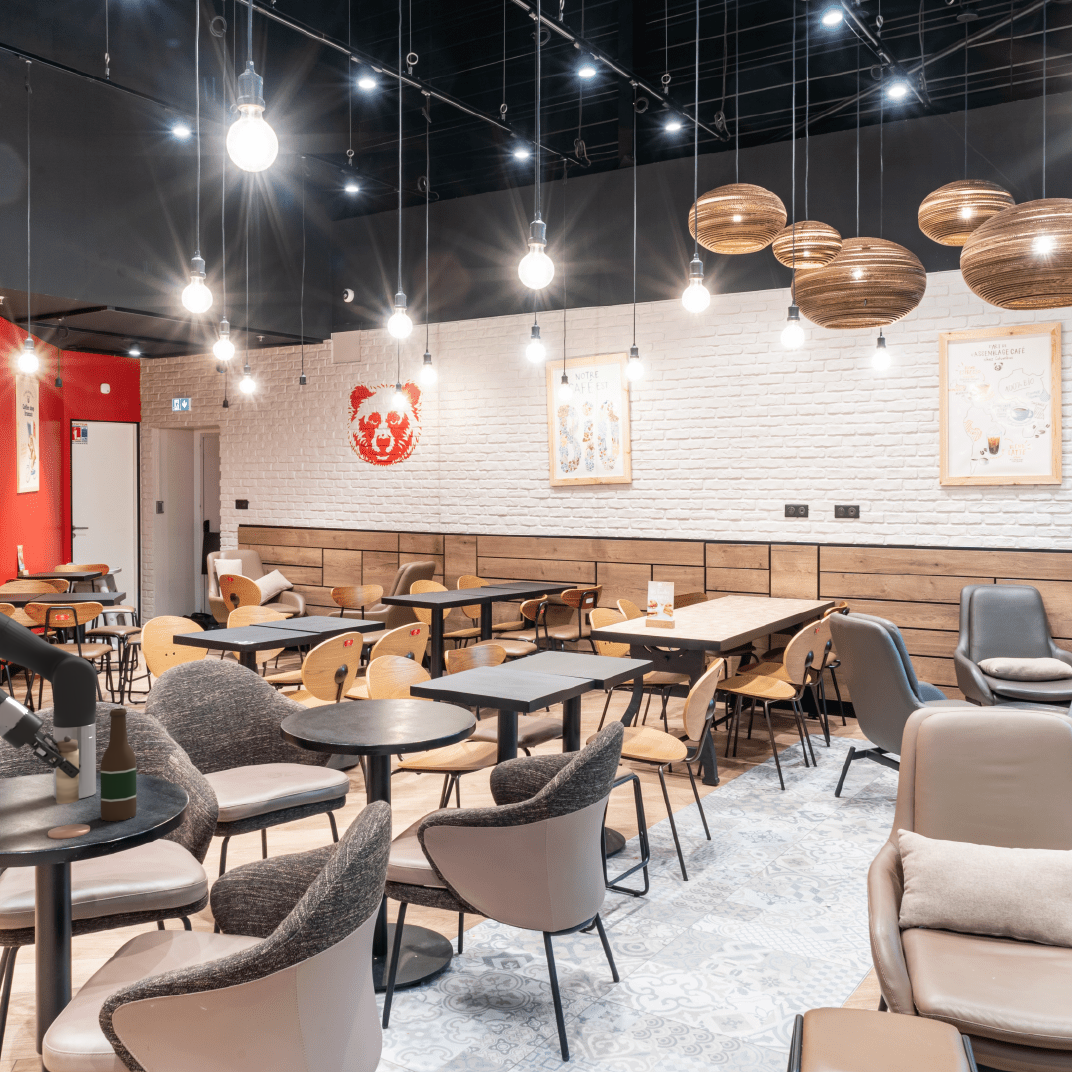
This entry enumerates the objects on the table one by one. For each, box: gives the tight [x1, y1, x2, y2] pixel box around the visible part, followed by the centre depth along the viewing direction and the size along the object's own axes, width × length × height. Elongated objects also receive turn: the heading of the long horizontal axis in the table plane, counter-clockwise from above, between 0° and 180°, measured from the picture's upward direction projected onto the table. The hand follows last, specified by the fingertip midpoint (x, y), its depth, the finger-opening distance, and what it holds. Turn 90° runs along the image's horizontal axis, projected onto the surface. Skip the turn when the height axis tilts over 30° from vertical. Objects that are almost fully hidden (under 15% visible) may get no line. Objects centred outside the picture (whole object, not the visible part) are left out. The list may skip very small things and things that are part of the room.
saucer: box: [47, 823, 91, 840], centre depth 200 cm, size 8×8×1 cm
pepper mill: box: [55, 736, 80, 805], centre depth 207 cm, size 4×4×14 cm
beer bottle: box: [100, 707, 138, 822], centre depth 211 cm, size 8×8×24 cm
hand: (77, 771), depth 207 cm, fingers closed on pepper mill, 4 cm apart
